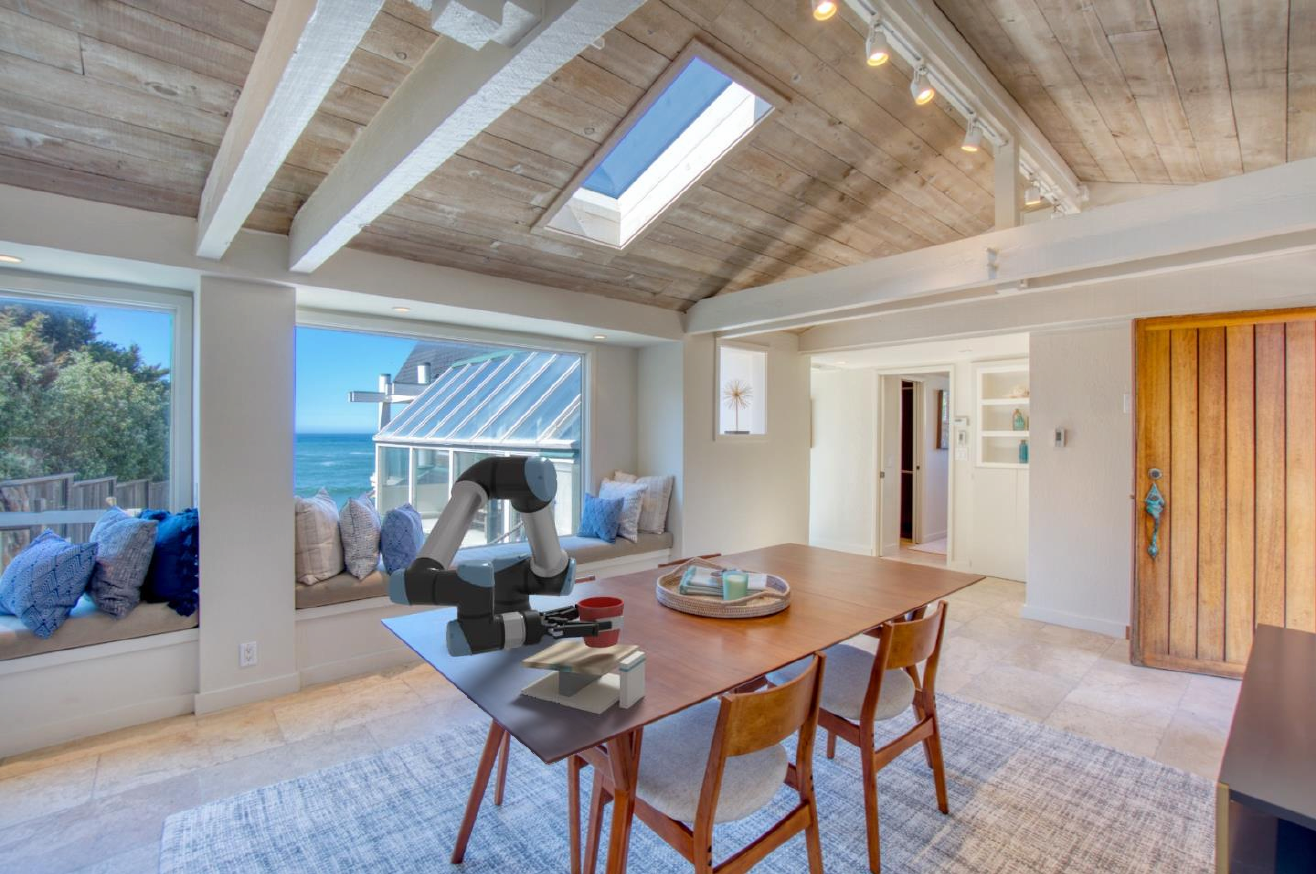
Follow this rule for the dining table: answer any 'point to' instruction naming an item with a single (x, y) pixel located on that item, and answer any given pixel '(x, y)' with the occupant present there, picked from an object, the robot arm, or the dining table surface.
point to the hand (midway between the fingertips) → (614, 615)
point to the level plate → (580, 658)
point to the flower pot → (598, 610)
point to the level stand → (593, 687)
